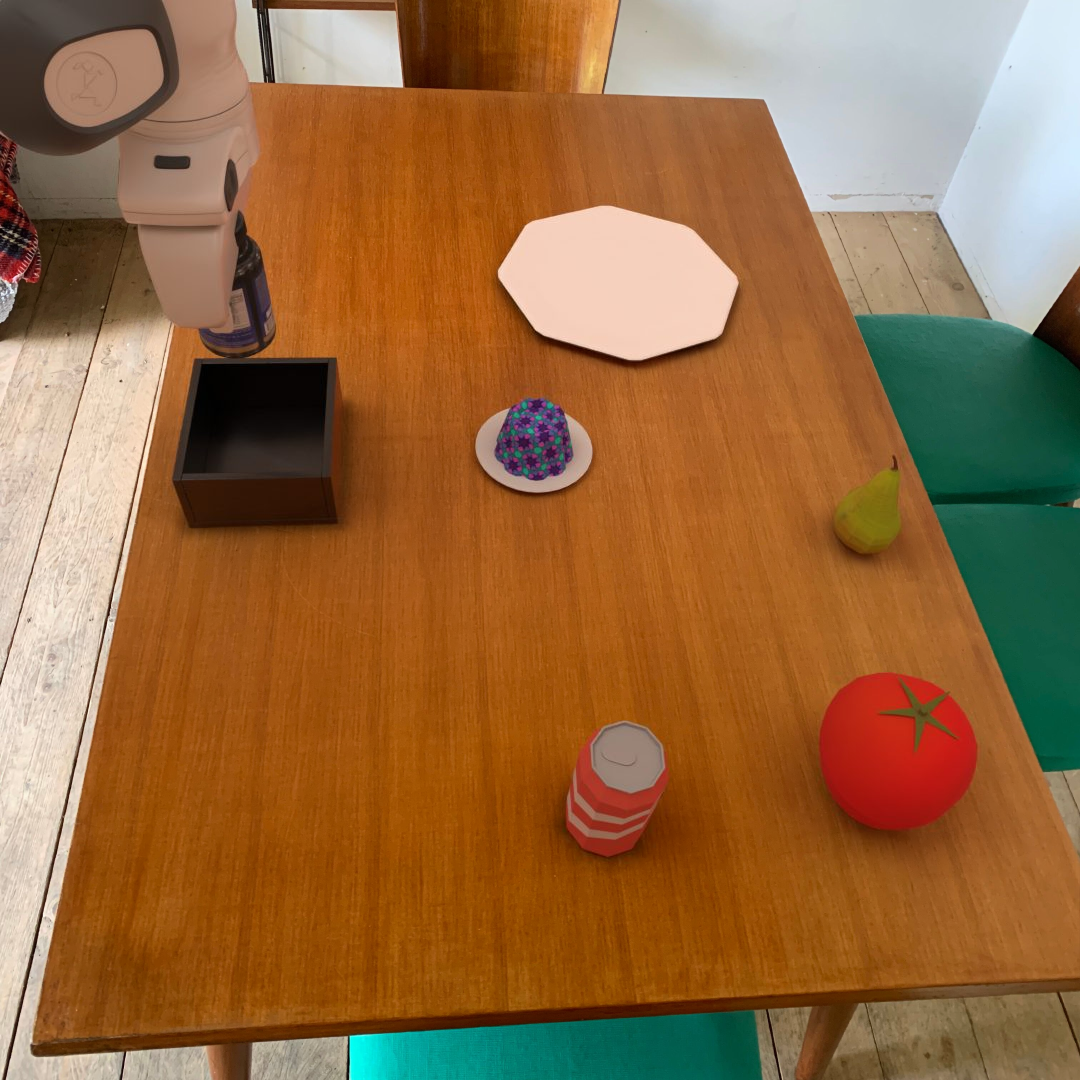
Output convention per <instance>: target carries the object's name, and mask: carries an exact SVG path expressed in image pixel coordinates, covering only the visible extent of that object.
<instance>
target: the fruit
mask: <svg viewBox="0 0 1080 1080" xmlns="http://www.w3.org/2000/svg"><path fill="white" fill-rule="evenodd" d="M891 458H892V460H893V466H890V467H887V468H885V469H882V470H881V471H879V472H878V473H876V474H875V475H874V476H873V477H871V478H870V480H869V481H868V482H866V483H865V484H863V485H862V486H857V487H854V488H852V489H851V490H849V491H848V492H847V493H846V495H844V497H843V498H842V499H841V500H840V501H839V502H838V503H837V506H835V509H834V512H833V525H832V526H833V533H834V534H835V535H836V537H837V538H838V539H839V540H840V541H841V542H842V543H843V544H844V546H846V547H848V548H849V549H851V550H853V551H854V552H856V553H858V554H860V555H863V554H864V555H865V554H877V553H882V552H885V551H886V549H887V548H888V547H889V546H890V545H891V543H892V542H894V540H895V539H896V538H897V536H899V535H900V533H901V529H902V520H901V511H900V509H899V507H898V498H899V497H898V496H899V488H900V482H901V481H900V479H901V472H900V469H899V465H898V460H897V457H896V455H895V454H892V455H891Z"/></svg>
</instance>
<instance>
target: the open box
mask: <svg viewBox="0 0 1080 1080" xmlns="http://www.w3.org/2000/svg"><path fill="white" fill-rule="evenodd" d="M339 370H340V369H339V364H338V358H337V356H335V357H333V356H332V357H331V356H330V357H328V356H327V357H325V356H323V357H321V356H316V357H315V356H314V357H312V356H311V357H308V356H307V357H306V356H305V357H304V356H303V357H301V356H300V357H247V358H238V359H232V358H225V357H203V358H202V357H199V358H198V357H197V358H194V359H193V363H192V370H191V375H190V380H189V386H188V391H187V396H186V402H185V408H184V412H183V417H182V423H181V428H180V435H179V439H178V444H177V449H176V455H175V461H174V467H173V471H172V477H171V482H172V485H173V487H174V490H175V493H176V496H177V498H178V501H179V504H180V506H181V509H182V511H183V515H184V517H185V519H186V522H187V525H188V527H189V529H190V528H191V529H192V528H221V527H222V528H224V527H261V526H263V527H264V526H294V525H295V526H296V525H330V524H339V512H340V511H339V510H340V488H341V467H342V466H341V464H342V443H343V441H342V440H343V419H344V402H343V394H342V386H341V378H340V372H339Z"/></svg>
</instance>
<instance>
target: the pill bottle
mask: <svg viewBox="0 0 1080 1080" xmlns="http://www.w3.org/2000/svg"><path fill="white" fill-rule="evenodd" d="M234 235H235V239H236V244H237V246H238V247H239V249H238V258H237V263H236V269H235V275H234V280H233V286H232V291H231V297H230V303H232V305H233V309H234V314H235V323H234V329H233V331H232V332H231V333H214V332H212V331H211V330H210V329H209V328H208V329H197V330H198V334H199V338H200V341H201V343H202V345H203V346H204V347H205V348H206V349H207V350H208V351H209V352H211V353H212V354H214V355H216V356H218V357H220V358H232V359H238V358H251V357H253V356H256V355H258V354H259V353H261V352H263V351H264V350H265V349H267V348H268V347H269V346H270V345H271V344H272V342H273V341H274V340H275V337H276V334H277V324H276V318H275V313H274V309H273V304H272V298H271V294H270V289H269V285H268V280H267V273H266V269H265V264H264V259H263V255H262V254H263V253H262V250H261V248H260V246H259V244H258V242H257V241H256V240H255V239H253V237H251V236H250V235H248V228H247V223H246V219H244V216H243V214H242V212H241V211H239V210H238V215H237V221H236V226H235V231H234Z"/></svg>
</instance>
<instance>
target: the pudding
mask: <svg viewBox="0 0 1080 1080" xmlns="http://www.w3.org/2000/svg"><path fill="white" fill-rule="evenodd" d="M474 448H475V455H476V457H477V460H478V462H479V464H480V465H481V467H482V468H483V470H484V471H485V472H486V473H487V474H488V475H489V476H490V477H491V478H492V479H494V480H495V481H497V482H498V483H500V484H502V485H504V486H506V487H509V488H511V489H514V490H517V491H520V492H521V491H522V492H527V493H549V492H553V491H559V490H562V489H563V488H566V487H568V486H570V485H572V484H574V483H576V482H577V481H578V480H579V479H580V478H582V477H583V475H584V474H586V472H587V471H588V470H589V467H590V465H591V463H592V459H593V445H592V441H591V438H590V436H589V434H588V432H587V431H586V429H585V428H584V427H583V426H582V425H581V423H579V422H578V421H577V419H575V418H573V417H571V416H570V415H569V414H567V413H565V412H564V410H563V408H562V407H561V406H560V405H558V404H556V403H552V402H551V400H550V399H548V398H542V397H539V398H536V399H535V398H532V397H526V398H524V399H521V400H520V402H519V403H515V404H514V405H513V406H511V407H508V408H506V409H503V410H501V411H499V412H497V413H495V414H493V415H492V416H491V417H489V418H488V419H486V421H485V422H484V423H483V424H482V425H481V427H480V429H479V430H478V432H477V435H476V438H475V446H474Z"/></svg>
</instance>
